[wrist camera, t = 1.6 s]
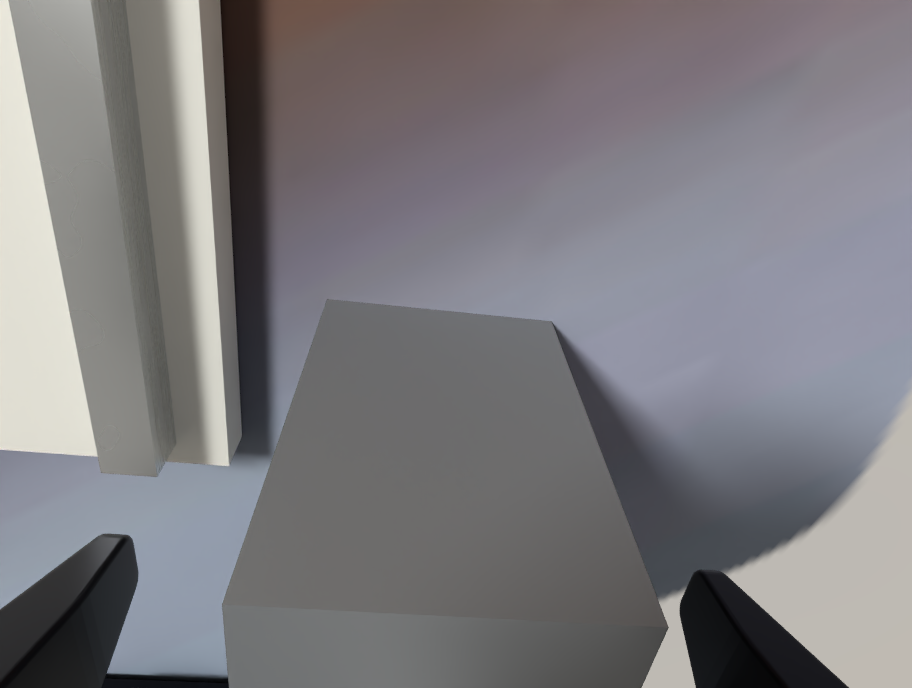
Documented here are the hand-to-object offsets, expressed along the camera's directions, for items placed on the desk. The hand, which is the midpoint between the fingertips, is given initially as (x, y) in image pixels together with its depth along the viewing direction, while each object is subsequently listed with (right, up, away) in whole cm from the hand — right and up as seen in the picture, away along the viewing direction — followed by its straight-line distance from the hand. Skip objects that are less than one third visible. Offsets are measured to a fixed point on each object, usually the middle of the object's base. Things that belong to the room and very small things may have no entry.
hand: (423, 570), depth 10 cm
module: (0, +2, +4) cm, 4 cm away
